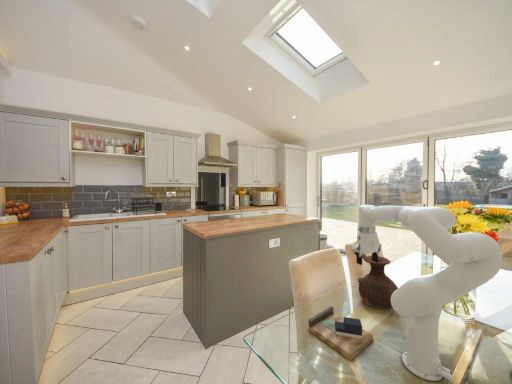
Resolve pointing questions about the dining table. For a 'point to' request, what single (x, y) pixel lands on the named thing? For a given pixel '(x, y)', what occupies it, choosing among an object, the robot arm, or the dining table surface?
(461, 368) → the dining table surface
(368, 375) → the dining table surface
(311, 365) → the dining table surface
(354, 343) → the sharpening stone holder
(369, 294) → the jug
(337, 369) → the dining table surface
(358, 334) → the black block white base
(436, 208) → the robot arm
